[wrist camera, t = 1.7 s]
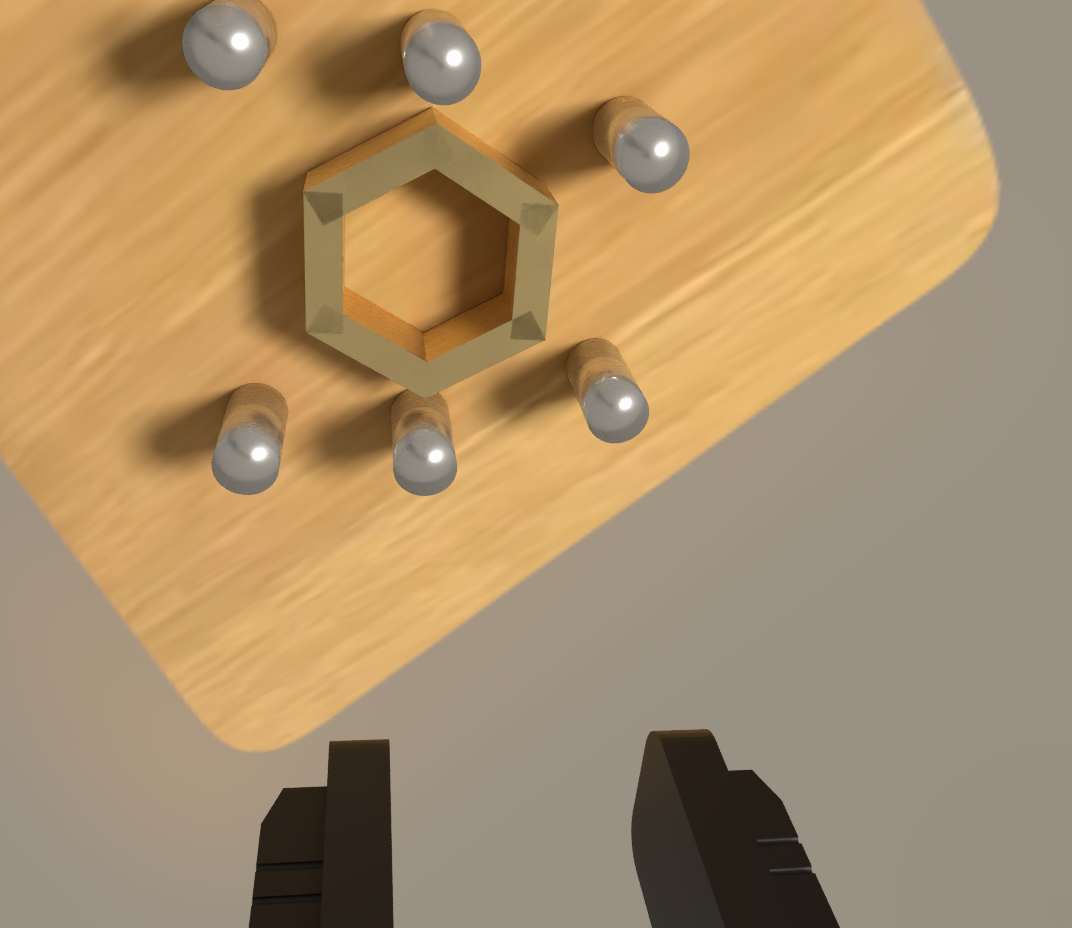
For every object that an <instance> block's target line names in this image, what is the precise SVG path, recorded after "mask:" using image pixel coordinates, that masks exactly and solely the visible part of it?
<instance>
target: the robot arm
mask: <svg viewBox="0 0 1072 928" xmlns="http://www.w3.org/2000/svg"><path fill="white" fill-rule="evenodd" d="M390 794H391V793H390V748H389V739H383V740H352V741H330V743H329V759H328V779H327V787H326V786H325V787H301V788H283V790H282V792H281V793H280V795H279V796H278V798H277V800H276V801H275V803H274V804H273V806H272V807H271V809H270V811H269V812H268V814H267V816H266V817H265V819H264V820H263V822H262V823H261V830H260V838H259V846H258V855H257V863H256V872H255V880H254V889H253V897H252V906H251V914H250V922H249V928H393V885H392V838H391V795H390ZM631 834H632V849H633V857H634V862H635V866H636V871H637V874H638V878H639V882H640V886H641V889H642V892H643V896H644V900H645V904H646V907H647V911H648V914H649V918H650V922H651V925H652V928H840V927H839V925H838V923H837V920H836V918H835V916H834V914H833V912H832V909H831V907H830V905H829V903H828V901H827V898H826V896H825V894H824V892H823V890H822V888H821V885H820V883H819V881H818V879H817V877H816V874H815V873H812V870H811V863H810V861H809V859H808V857H807V855H806V853H805V850H804V848H803V846H802V844H799V842H798V835H797V833H796V831H795V828H794V826H793V824H792V822H791V820H790V817H789V815H788V813H787V811H786V809H785V806H784V805H783V802H782V800H781V799H780V798H779V797H778V796H777V795H776V794H775V793H774V792H773V791H772V790H771V789H770V788H769V787H768V786H767V785H766V784H765V783H764V782H763V781H762V780H761V779H760V778H759V777H758V776H757V775H756V774H755V772H753V770H735V771H728V769H727V766H726V764H725V762H724V759H723V757H722V754H721V752H720V750H719V748H718V745H717V742H716V740H715V738H714V736H713V734H712V733H711V732H710V731H709V730H707V729H700V730H672V731H651V732H650V733H649V735H648V737H647V740H646V745H645V750H644V755H643V761H642V767H641V772H640V777H639V782H638V787H637V793H636V799H635V803H634V809H633V815H632V827H631Z"/></svg>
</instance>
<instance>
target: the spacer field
mask: <svg viewBox="0 0 1072 928" xmlns="http://www.w3.org/2000/svg"><path fill="white" fill-rule="evenodd" d="M276 43H277V27H276V23H275V20H274V17H273V15H272V13H271V12H270V10H269V9H268V8H267V6H266V5H265V4H264V3H263V2H261V1H260V0H214V1H213V2H211V3H210V4H208V5H206V6H205V7H203V8H202V9H200V10H199V11H197V12H196V13H195V14H193V15H192V17H191V18H190V19H189V20H188V22H187V24H186V26H185V28H184V32H183V37H182V47H183V53H184V57H185V59H186V62H187V64H188V65H189V67H190V69H191V70H192V72H193V73H194V74H195V75H196V76H197V77H198V78H199V79H200V80H202V81H203V82H204V83H206V84H208V85H209V86H212V87H214V88H217V89H221V90H236V89H240V88H243V87H245V86H247V85H248V84H250V83H251V82H252V81H253V80H254V79H255V78H256V77H257V76H258V74H259V73H260V71H261V70H262V68H263V67H264V65H265V64H266V62H267V60H268V59H269V57H270V56H271V54H272V53H273V51H274V49H275V46H276ZM400 48H401V54H402V59H403V64H404V69H405V74H406V77H407V80H408V82H409V84H410V86H411V87H412V89H413V90H414V91H415V92H416V93H417V94H418V95H419V96H420V97H421V98H422V99H424V100H426V101H428V102H430V103H433V104H437V105H450V104H454V103H457V102H459V101H461V100H463V99H465V98H466V97H467V96H468V95H469V94H470V93H471V92H472V91H473V89H474V88H475V86H476V85H477V83H478V80H479V77H480V73H481V58H480V54H479V50H478V48H477V46H476V44H475V42H474V41H473V39H472V38H471V37H470V35H469V34H468V32H467V31H466V30H465V28H464V27H463V26H462V24H461V23H460V22H459V21H458V19H457V18H455V17H454V16H453V15H451V14H450V13H448V12H446V11H443V10H439V9H427V10H424V11H421V12H419V13H417V14H415V15H414V16H413V17H412V18H411V19H410V20H409V21H408V22H407V24H406V25H405V27H404V29H403V32H402V35H401V41H400ZM592 133H593V140H594V143H595V145H596V147H597V149H598V150H599V152H600V153H601V154H602V155H603V156H604V157H605V158H606V159H607V160H608V162H609V163H610V164H611V165H612V166H613V167H614V168H615V169H616V170H617V171H618V172H619V174H620V175H621V176H622V177H623V178H624V179H625V180H626V181H627V182H628V183H629V185H631V186H632V187H633V188H635V189H636V190H638V191H641V192H644V193H659V192H662V191H665V190H667V189H669V188H671V187H672V186H674V185H675V184H676V183H677V182H678V181H679V180H680V179H681V177H682V176H683V174H684V173H685V171H686V169H687V166H688V162H689V145H688V142H687V139H686V137H685V135H684V134H683V132H682V131H681V130H680V129H679V128H678V127H677V126H675V125H674V124H673V123H671V122H670V121H668V120H667V119H666V118H664V117H663V116H662V115H660V114H659V113H658V112H656V111H655V110H654V109H652V108H651V107H649V106H648V105H647V104H645V103H644V102H643V101H641V100H640V99H637V98H635V97H631V96H621V97H617V98H614V99H612V100H610V101H608V102H607V103H606V104H604V105H603V106H602V107H601V109H600V110H599V111H598V113H597V115H596V117H595V119H594V123H593V130H592ZM566 372H567V375H568V378H569V380H570V383H571V385H572V388H573V390H574V392H575V395H576V397H577V400H578V402H579V404H580V407H581V409H582V412H583V414H584V416H585V419H586V421H587V424H588V426H589V429H590V430H591V432H592V433H593V434H594V435H595V436H596V437H597V438H598V439H600V440H602V441H605V442H608V443H621V442H625V441H628V440H630V439H632V438H634V437H635V436H637V435H638V434H639V433H640V432H641V431H642V430H643V428H644V427H645V425H646V423H647V420H648V417H649V407H648V403H647V401H646V399H645V397H644V395H643V393H642V392H641V390H640V388H639V386H638V384H637V383H636V381H635V379H634V377H633V375H632V374H631V372H630V370H629V368H628V366H627V364H626V363H625V361H624V359H623V357H622V355H621V354H620V352H619V350H618V349H617V347H616V346H615V345H614V344H612V343H611V342H609V341H607V340H604V339H598V338H597V339H589V340H586V341H583V342H581V343H580V344H578V345H577V346H576V347H575V348H574V349H573V350H572V351H571V353H570V354H569V356H568V359H567V362H566ZM287 417H288V406H287V403H286V401H285V399H284V397H283V396H282V395H281V394H280V393H279V392H278V391H277V390H276V389H274V388H273V387H270V386H268V385H265V384H259V383H252V384H247V385H244V386H242V387H240V388H238V389H237V390H236V391H235V392H234V393H233V394H232V395H231V397H230V399H229V402H228V405H227V409H226V412H225V416H224V419H223V423H222V426H221V430H220V433H219V437H218V440H217V444H216V447H215V451H214V454H213V458H212V471H213V474H214V476H215V478H216V480H217V481H218V482H219V483H220V484H221V485H222V486H223V487H224V488H226V489H227V490H229V491H231V492H234V493H237V494H242V495H252V494H257V493H260V492H262V491H264V490H266V489H268V488H269V487H270V486H271V485H272V484H273V483H274V482H275V480H276V478H277V476H278V472H279V466H280V460H281V454H282V448H283V441H284V435H285V429H286V423H287ZM391 420H392V445H393V470H394V476H395V479H396V481H397V482H398V484H399V485H400V486H401V487H402V488H403V489H404V490H406V491H408V492H409V493H412V494H415V495H420V496H429V495H434V494H437V493H440V492H441V491H443V490H445V489H446V488H447V487H448V486H449V485H450V484H451V483H452V482H453V480H454V478H455V476H456V472H457V462H456V456H455V449H454V443H453V436H452V430H451V423H450V416H449V410H448V405H447V403H446V401H445V399H444V398H443V397H442V396H441V395H440V394H439V393H436V394H434V395H432V396H430V397H428V398H426V399H425V398H423V397H421V396H419V395H418V394H416V393H414V392H412V391H410V390H409V389H408V390H406V391H404V392H403V393H401V394H400V395H399V396H398V397H397V398H396V400H395V401H394V403H393V406H392V410H391Z"/></svg>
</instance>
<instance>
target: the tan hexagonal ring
mask: <svg viewBox="0 0 1072 928" xmlns="http://www.w3.org/2000/svg"><path fill="white" fill-rule="evenodd" d="M433 169H436V170H438V171H439V172H441V173H442V174H444V175H445V176H447V177H448V178H450V179H451V180H453V181H454V182H456V183H457V184H459V185H460V186H462V187H463V188H465V189H467V190H468V191H470V192H471V193H473V194H474V195H476V196H477V197H479V198H480V199H482V200H483V201H485V202H486V203H488V204H489V205H491V206H492V207H494V208H495V209H497V210H498V211H500V212H501V213H503V214H504V215H506V216H507V217H509V225H508V238H507V251H506V264H505V277H504V290H503V294H501V295H499V296H497V297H494V298H492V299H490V300H488V301H486V302H484V303H482V304H480V305H478V306H476V307H474V308H472V309H470V310H468V311H466V312H464V313H462V314H460V315H458V316H456V317H454V318H452V319H450V320H448V321H446V322H444V323H442V324H440V325H438V326H436V327H434V328H432V329H430V330H428V331H426V332H424V333H423V332H421V331H419V330H417V329H416V328H414V327H412V326H411V325H409V324H407V323H405V322H404V321H402V320H400V319H399V318H397V317H395V316H393V315H392V314H390V313H388V312H387V311H385V310H383V309H382V308H380V307H378V306H376V305H375V304H373V303H371V302H370V301H368V300H366V299H364V298H363V297H361V296H359V295H358V294H356V293H354V292H352V291H351V290H349V289H347V288H346V287H345V214H347V213H349V212H351V211H353V210H355V209H357V208H359V207H361V206H363V205H365V204H367V203H369V202H371V201H373V200H375V199H377V198H379V197H380V196H382V195H384V194H386V193H388V192H390V191H392V190H394V189H396V188H398V187H400V186H402V185H404V184H406V183H408V182H410V181H412V180H414V179H416V178H418V177H419V176H421V175H423V174H425V173H427V172H429V171H431V170H433ZM303 198H304V252H305V306H306V333H308V334H310V335H311V336H313V337H315V338H317V339H319V340H320V341H322V342H324V343H326V344H328V345H329V346H331V347H333V348H335V349H337V350H338V351H340V352H342V353H344V354H346V355H347V356H349V357H351V358H353V359H355V360H356V361H358V362H360V363H362V364H364V365H365V366H367V367H369V368H371V369H373V370H374V371H376V372H378V373H380V374H382V375H383V376H385V377H387V378H389V379H391V380H392V381H394V382H396V383H398V384H400V385H401V386H403V387H405V388H407V389H409V390H410V391H412V392H414V393H416V394H418V395H419V396H421V397H423V398H425V399H426V398H428V397H430V396H432V395H434V394H436V393H438V392H440V391H442V390H444V389H446V388H448V387H450V386H452V385H454V384H456V383H458V382H460V381H462V380H464V379H467V378H469V377H471V376H473V375H475V374H477V373H479V372H481V371H483V370H485V369H487V368H489V367H491V366H493V365H495V364H497V363H499V362H501V361H503V360H505V359H507V358H509V357H511V356H513V355H516V354H518V353H520V352H522V351H524V350H526V349H528V348H530V347H532V346H534V345H536V344H538V343H540V342H542V341H544V340H545V336H546V326H547V316H548V306H549V296H550V286H551V276H552V266H553V256H554V246H555V236H556V226H557V216H558V206H559V205H558V203H557V202H556V200H555V199H554V197H553V195H552V194H551V192H550V190H549V189H548V187H547V186H546V185H545V184H543V183H542V182H541V181H539V180H538V179H536V178H535V177H533V176H532V175H530V174H529V173H527V172H526V171H525V170H523V169H522V168H520V167H519V166H517V165H516V164H514V163H513V162H511V161H510V160H508V159H507V158H506V157H504V156H503V155H501V154H500V153H498V152H497V151H495V150H494V149H492V148H491V147H490V146H488V145H487V144H485V143H484V142H482V141H481V140H479V139H478V138H476V137H475V136H473V135H472V134H471V133H469V132H468V131H466V130H465V129H463V128H462V127H460V126H459V125H457V124H456V123H454V122H453V121H452V120H450V119H449V118H447V117H446V116H444V115H443V114H441V113H440V112H438V111H437V110H436V109H434V108H433V107H431V108H430V109H428V110H426V111H424V112H422V113H420V114H418V115H416V116H414V117H412V118H410V119H408V120H406V121H405V122H403V123H401V124H399V125H397V126H395V127H393V128H391V129H389V130H387V131H385V132H383V133H381V134H379V135H378V136H376V137H374V138H372V139H370V140H368V141H366V142H364V143H362V144H360V145H358V146H356V147H354V148H352V149H351V150H349V151H347V152H345V153H343V154H341V155H339V156H337V157H335V158H333V159H331V160H329V161H327V162H325V163H324V164H322V165H320V166H318V167H316V168H314V169H312V170H310V171H308V173H307V177H306V181H305V185H304V190H303Z"/></svg>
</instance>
